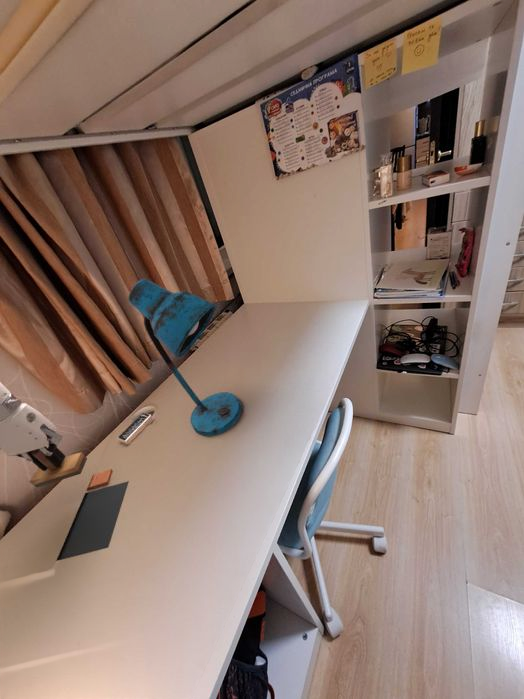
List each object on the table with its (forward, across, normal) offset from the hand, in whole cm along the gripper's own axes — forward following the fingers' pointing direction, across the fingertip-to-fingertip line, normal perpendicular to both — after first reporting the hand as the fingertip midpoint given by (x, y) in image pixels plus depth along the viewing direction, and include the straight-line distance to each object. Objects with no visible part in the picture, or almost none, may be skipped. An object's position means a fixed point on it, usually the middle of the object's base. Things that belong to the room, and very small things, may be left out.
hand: (54, 463), depth 68 cm
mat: (+15, -1, +7) cm, 17 cm away
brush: (+3, 0, 0) cm, 3 cm away
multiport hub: (+15, -8, -20) cm, 27 cm away
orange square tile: (+15, -2, -4) cm, 16 cm away
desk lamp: (+15, -37, -16) cm, 43 cm away
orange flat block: (+15, +2, -4) cm, 16 cm away
